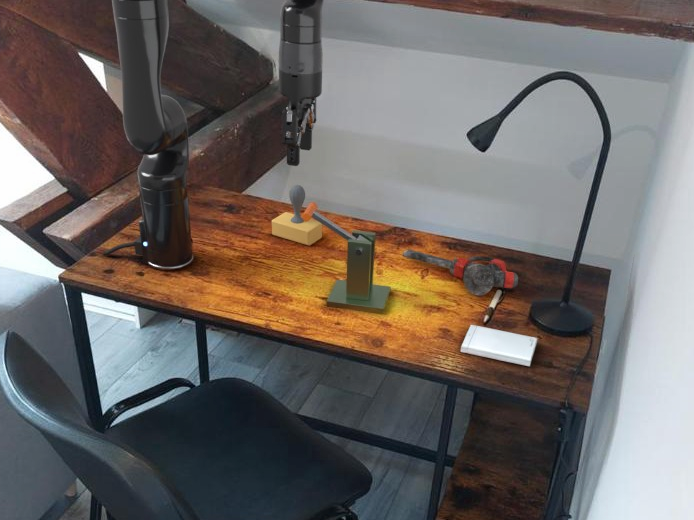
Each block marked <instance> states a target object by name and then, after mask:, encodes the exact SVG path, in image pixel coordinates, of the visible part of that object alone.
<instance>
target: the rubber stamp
mask: <svg viewBox="0 0 694 520" xmlns="http://www.w3.org/2000/svg"><path fill="white" fill-rule="evenodd" d="M288 196H289V201H290V203H291V205H292V208H293V212H294V213H291V212H287V211H285V212H282V213H281V214H280V215H278V216H276V217H275V218H273V219H271V235H273V236H275V237H278V238H281V239H285V240H288V241H291V242H295V243H298V244H302V245H305V246H309V247H310V246H311V245H313V244H315V243H316V242H317V241H319V240H320V239H322V238H323V224H322V223H320V222H319V221H317V220H316V219H314V218H311V219H310V220H309V221H304V220H303V219H302V215H301V212H302V211H301V210H302V207H303V205H304V202H305V199H306V191H305V189H304V187H303V186H302V185H301V184H295V185H293V186H291V187H290V189H289V192H288Z"/></svg>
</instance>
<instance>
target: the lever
mask: <svg viewBox="0 0 694 520" xmlns="http://www.w3.org/2000/svg"><path fill="white" fill-rule="evenodd" d="M317 209H318V204H317V202H315V201H311V202H310V203H309V204H308V205H307V207H306V209H305V210H304V212H303V213H302V214H301V216H302V219H303V220H304V221H309V220H310V219H313V220H316V221H319V222H320V223H322V226H324V227H326V228H328V229H329V230H330V231H332V232H334V233H335V234H337V235H338V236H339V237H341V238H343V239H344V240H346V241H347V242H348V240H349V239H353V240H361V241H369V240H367V239H366V238H364V237H363V236H361V235H359V236H358V238H356V237H354V236H353V235H352V233H350V232H348V231H347V230H345V229H344V228H342V227H340V226H339V225H338V224H336V223H335V222H334V221H332V220H330V219H329V218H327V217H326V216H324V215H323V214H321V213H319V212H318V211H316V210H317ZM369 242H370V241H369Z"/></svg>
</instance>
